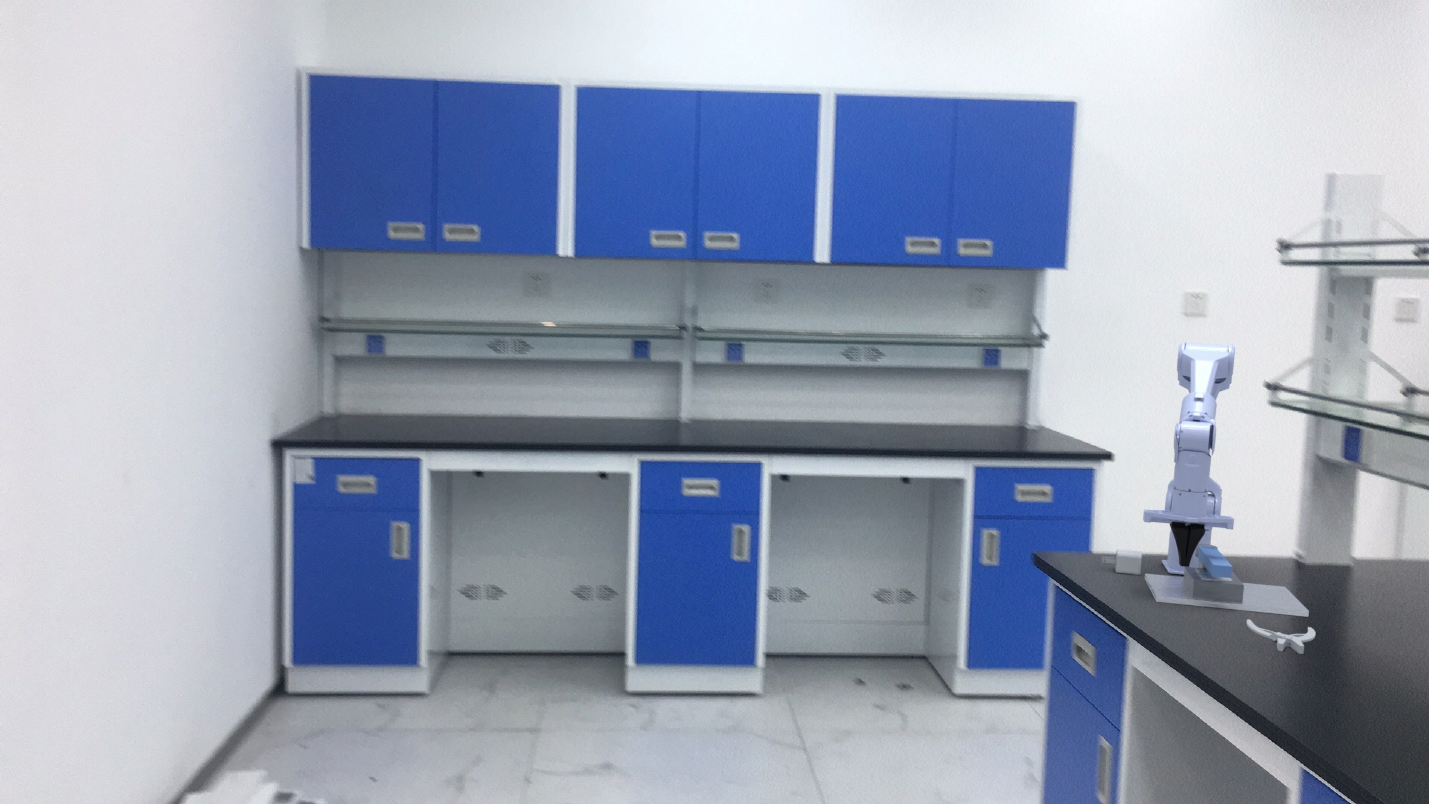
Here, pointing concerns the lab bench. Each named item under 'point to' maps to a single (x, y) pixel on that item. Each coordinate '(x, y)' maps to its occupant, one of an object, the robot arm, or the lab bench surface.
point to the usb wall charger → (1126, 561)
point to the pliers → (1285, 637)
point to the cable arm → (1213, 560)
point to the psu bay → (1249, 597)
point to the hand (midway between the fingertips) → (1184, 565)
